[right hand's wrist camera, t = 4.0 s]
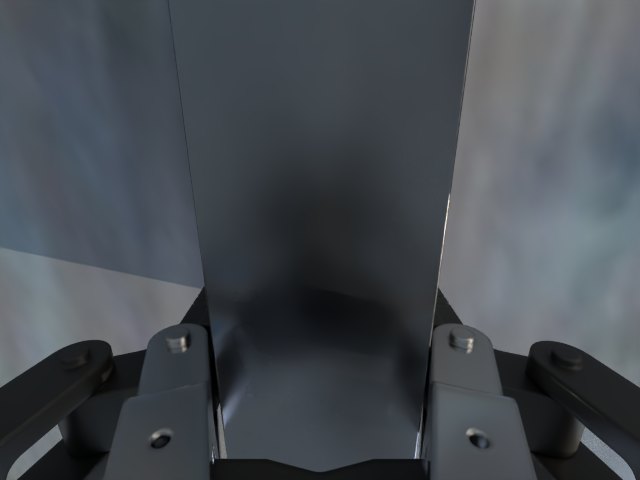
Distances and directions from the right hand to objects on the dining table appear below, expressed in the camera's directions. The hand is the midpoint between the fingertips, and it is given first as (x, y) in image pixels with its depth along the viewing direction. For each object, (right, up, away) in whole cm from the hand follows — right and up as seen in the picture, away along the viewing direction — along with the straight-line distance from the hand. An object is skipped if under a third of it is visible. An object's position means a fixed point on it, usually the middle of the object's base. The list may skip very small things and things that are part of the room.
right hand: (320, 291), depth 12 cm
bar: (0, +10, +1) cm, 10 cm away
